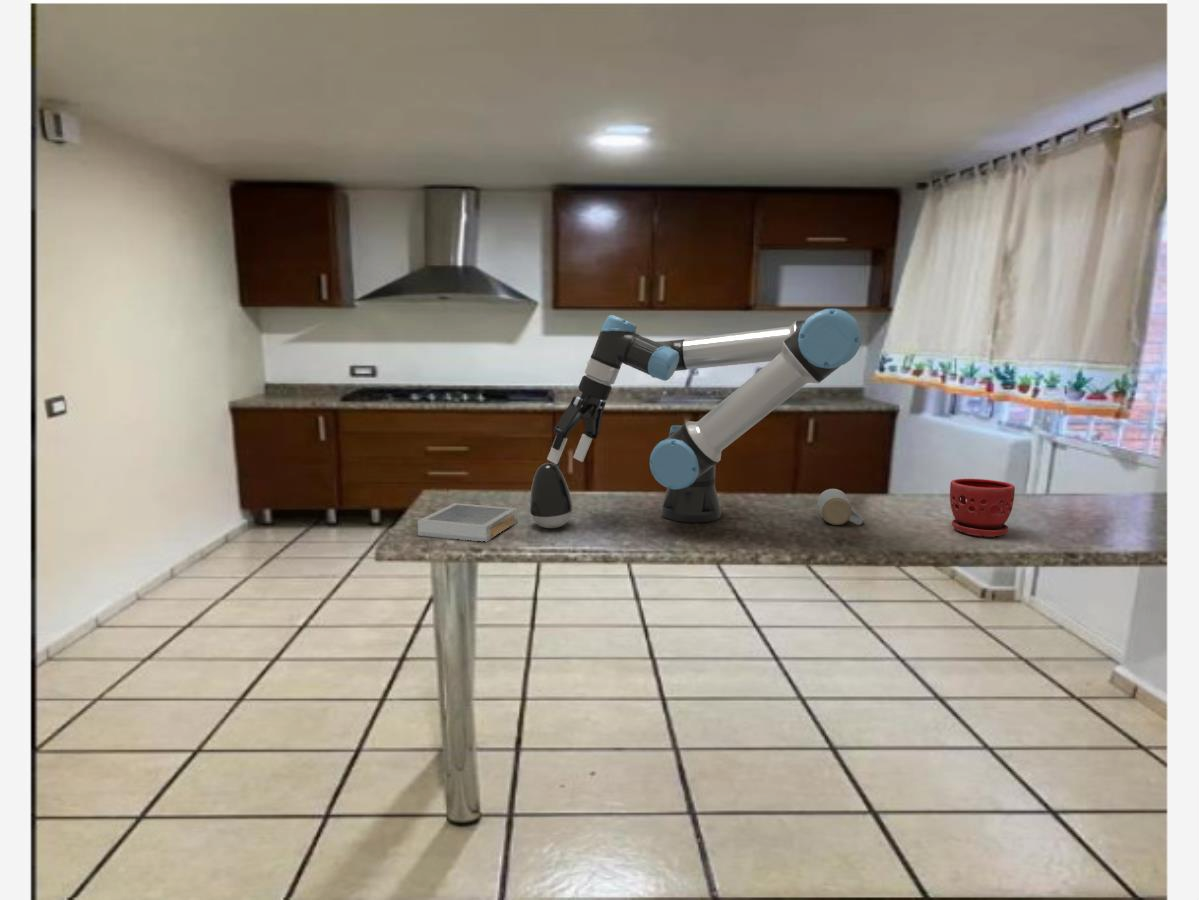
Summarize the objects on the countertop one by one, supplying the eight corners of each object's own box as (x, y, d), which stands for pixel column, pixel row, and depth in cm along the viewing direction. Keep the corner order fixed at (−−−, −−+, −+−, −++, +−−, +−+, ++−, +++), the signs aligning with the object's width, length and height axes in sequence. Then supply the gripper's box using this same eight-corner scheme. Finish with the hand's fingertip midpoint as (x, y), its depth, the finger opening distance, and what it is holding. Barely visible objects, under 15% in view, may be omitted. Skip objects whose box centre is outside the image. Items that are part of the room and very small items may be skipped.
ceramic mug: (820, 525, 161) (823, 494, 160) (815, 516, 169) (818, 487, 168) (866, 529, 159) (869, 497, 158) (859, 519, 167) (862, 490, 166)
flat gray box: (518, 522, 162) (518, 508, 162) (488, 542, 146) (487, 527, 145) (453, 516, 167) (452, 502, 166) (416, 535, 151) (416, 520, 150)
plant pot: (1016, 531, 157) (1022, 482, 155) (1000, 543, 148) (1006, 491, 146) (956, 521, 166) (961, 474, 164) (938, 531, 157) (942, 482, 155)
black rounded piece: (581, 519, 161) (576, 458, 159) (561, 532, 152) (555, 468, 150) (545, 517, 166) (539, 458, 163) (523, 530, 157) (517, 467, 154)
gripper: (606, 378, 171) (575, 452, 175) (560, 369, 148) (527, 455, 152) (631, 389, 168) (599, 465, 172) (588, 382, 145) (553, 469, 149)
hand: (565, 460), depth 162 cm, fingers open, 13 cm apart
